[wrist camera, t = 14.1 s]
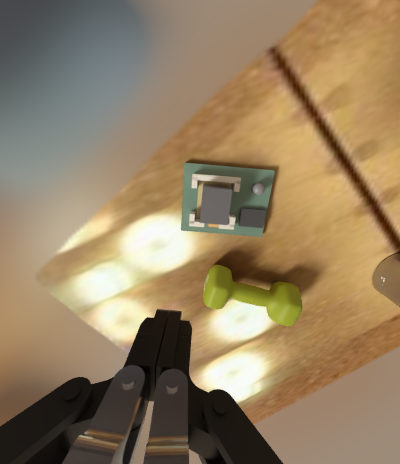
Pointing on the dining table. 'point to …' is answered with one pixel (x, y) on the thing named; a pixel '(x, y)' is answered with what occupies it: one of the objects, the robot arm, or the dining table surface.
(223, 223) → the plug
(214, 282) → the dumbbell
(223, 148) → the dining table surface
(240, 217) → the board
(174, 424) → the robot arm
